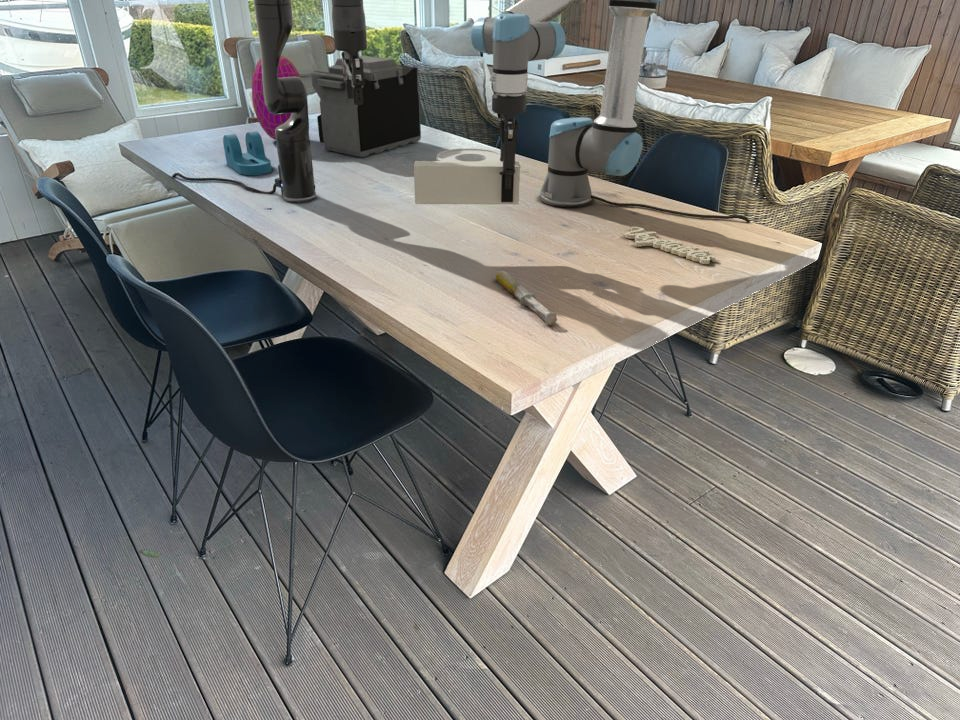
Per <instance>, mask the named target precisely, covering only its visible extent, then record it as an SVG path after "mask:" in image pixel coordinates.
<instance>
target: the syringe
mask: <svg viewBox="0 0 960 720" xmlns="http://www.w3.org/2000/svg"><path fill="white" fill-rule="evenodd" d="M495 277H496V281H497V282H498V283H499V284H500V285H501V286H502V287H504V288H505V289H506V290H507V291H508V292H509V293H510V294H511V295H512V296H513V297H515V299H517V300H518V301H519V304H520V306H521V307H526V306H527V307H528V308H530V309H531V310H532V311H533V312H534V313H536V315H538V316H539V317H540V318H541V319H542V320H543V321H544V322H545V325H547V326H551V325H553V324H555V323H556V322H557V321H558V318H557V313H556V312H555V311H554V312H551V311H550V310H549V309H548V308H547V307H546V306H544V305H543V304H542V303H541V302H539V301H537V296H536V294H534V293H533V292H529V291H528V290H527V289H526V288H524V286H523V285H521V284H520V283H518V281H516V280H515V279H513V278H512V277H511V276H510V274H509V273H508V272H506V271H505V270H502V269H501V270H499V271H497V272H496V275H495Z"/></svg>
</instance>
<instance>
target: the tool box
mask: <svg viewBox="0 0 960 720" xmlns="http://www.w3.org/2000/svg"><path fill="white" fill-rule="evenodd" d="M359 58H362V60H363V71H364V82H365V85H364V86H363V88H362V91H363V104H362V105H355V104H354V101H353V99H349V98H348V97H347V90H346V82H345V80H344V77H343V66H342V57H341V59H340V58H337V59H336V60H335V63H334V64H333V65H330V66H329V67H328V72H327V71H320V70H314V71H313V70H312V71H310V79H311V87H313V90H314V91H315V93H316V94H317V96H318V98H319V110H320V111H319V112H320V114H319V115H317V116H316V119H317V128H318V138H319V143H320V144H323V146H324V149H325V150H327V151H330V152H335V153H340V154H344V155H348V156H353V157H357V158H362V159H363V158H366V157H367V158H368V157H369V155H371V154H375V155H377V154H381V153H382V152H383V151H391V150H395V149H396V148H397V147H405V146H407V145H408V144H416V143H418V142H419V141H421V137H422V128H421V97H420V92H419V91H420V89H419V68H418V67H417V66H408V65H400V64H396V62H395V60H394V59H393V58H385V57H377V56H367V55H359ZM356 81H359V79H356Z"/></svg>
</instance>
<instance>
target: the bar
mask: <svg viewBox="0 0 960 720" xmlns="http://www.w3.org/2000/svg"><path fill="white" fill-rule="evenodd" d="M502 171H503V162H498V161H436V160H427V161H426V160H414V164H413V181H414V182H413V183H414V204H415V205H519V203H520V182H521V181H520V180H521V164H520V162H519V161H515V173H514V186H513V202H501V186H502V175H500V174H499V172H502Z"/></svg>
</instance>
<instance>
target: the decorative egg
mask: <svg viewBox="0 0 960 720" xmlns="http://www.w3.org/2000/svg"><path fill="white" fill-rule="evenodd" d="M253 70H254V71H253V73H252V77H251V101H252V107H253V110H254V114H255V116H256V118H257V121H258V123H259V125H260V127H261V128H262V130H263V131H264V133H266V135H267V136H268V137H270V138H271V139H273V140H275V141H276V137H275V129H276V128H277V127H278V126H280V125H282V124H283V123H285V122H286V121H287V120H288V119H289V118H290V116H291V113H288V114H278V115H273V114H271V113H270V112H269V111H268V109H267V107H266V104H265V100H264V94H263V81H262V63H261V58H260V59H259V60H258V61H257V62H256V65H255V68H254V69H253ZM282 77H299V78H300V79H301V80H302V77H301V75H300V73H299V71H298V69H297V67H296V66H295V65H294V63H293V62H292V61H291V60H290V59H288V58H287V57H285V56H282V55H281V56H280V60H279V66H278V78H282Z"/></svg>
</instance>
